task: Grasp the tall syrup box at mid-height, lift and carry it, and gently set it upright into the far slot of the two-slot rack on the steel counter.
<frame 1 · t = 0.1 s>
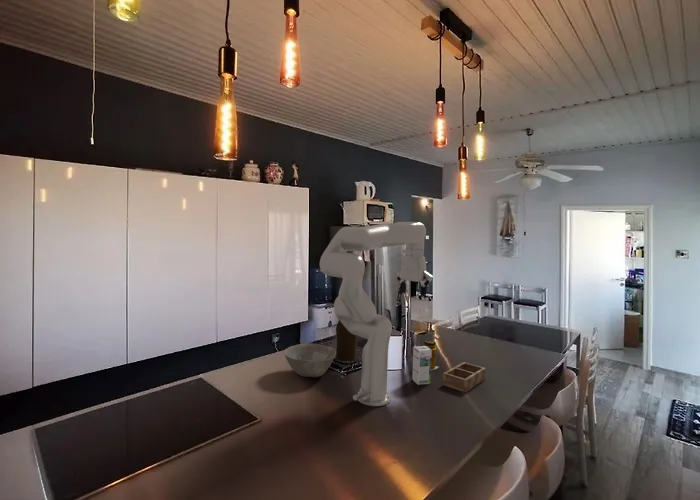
hand: (412, 294, 157), 37 cm above the worktop, tool pointing down, fingers open, 9 cm apart
olive oil: (345, 360, 181), on the worktop
condiment: (427, 367, 175), on the worktop
syrup box: (421, 382, 158), on the worktop
ceramic bowl: (309, 374, 163), on the worktop
rack: (464, 382, 159), on the worktop
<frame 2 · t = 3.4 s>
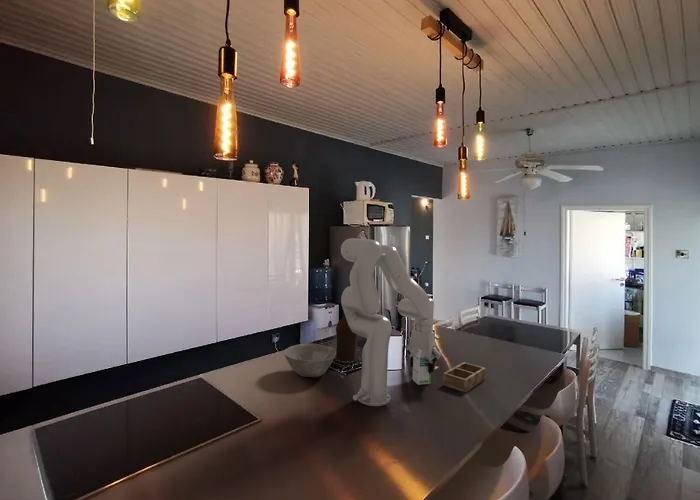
hand: (421, 368, 158), 5 cm above the worktop, tool pointing down, fingers closed on syrup box, 7 cm apart
syrup box: (421, 382, 158), on the worktop, touching gripper
everything else where it was.
when the fingers open (8 cm above the worktop, at t = 10.3 s): syrup box drops 1 cm, resting on rack.
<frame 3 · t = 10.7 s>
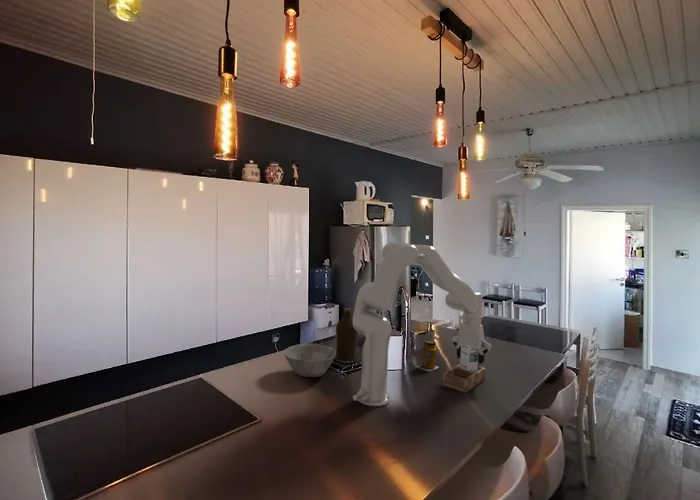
hand: (469, 360, 162), 8 cm above the worktop, tool pointing down, fingers open, 9 cm apart
syrup box: (468, 377, 162), point 1 cm above the worktop, touching rack
everything else where it was.
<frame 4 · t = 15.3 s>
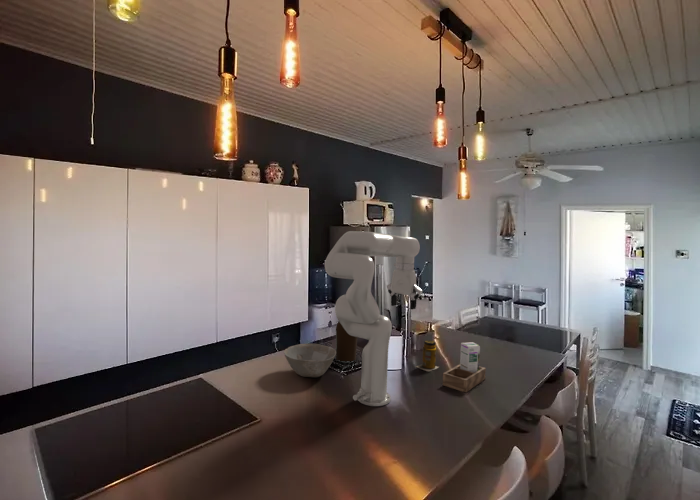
hand: (403, 307, 161), 30 cm above the worktop, tool pointing down, fingers open, 9 cm apart
nothing on the worktop moved.
at the end: syrup box 0.2 cm from the target spot on the rack, point 0.8 cm above the rack's base; syrup box tilted 0°; the gripper is holding nothing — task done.
